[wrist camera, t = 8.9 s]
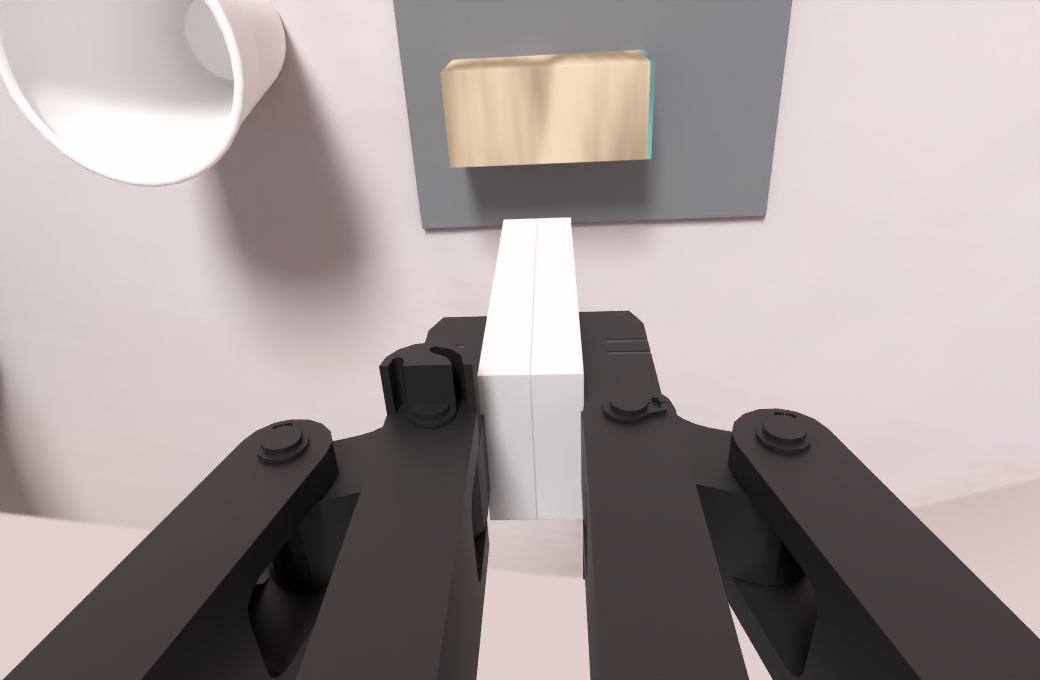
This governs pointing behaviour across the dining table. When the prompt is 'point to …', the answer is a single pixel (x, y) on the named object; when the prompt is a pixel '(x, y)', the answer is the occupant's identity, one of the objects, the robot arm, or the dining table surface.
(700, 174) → the mat
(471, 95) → the beech block
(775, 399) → the dining table surface
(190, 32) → the cup
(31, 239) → the dining table surface
